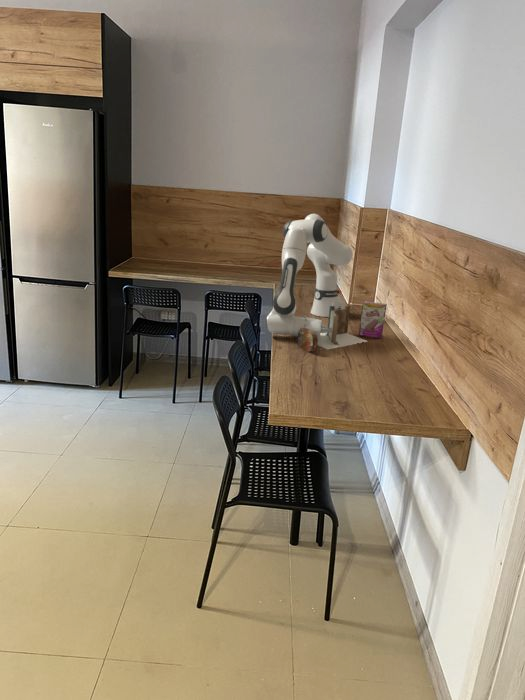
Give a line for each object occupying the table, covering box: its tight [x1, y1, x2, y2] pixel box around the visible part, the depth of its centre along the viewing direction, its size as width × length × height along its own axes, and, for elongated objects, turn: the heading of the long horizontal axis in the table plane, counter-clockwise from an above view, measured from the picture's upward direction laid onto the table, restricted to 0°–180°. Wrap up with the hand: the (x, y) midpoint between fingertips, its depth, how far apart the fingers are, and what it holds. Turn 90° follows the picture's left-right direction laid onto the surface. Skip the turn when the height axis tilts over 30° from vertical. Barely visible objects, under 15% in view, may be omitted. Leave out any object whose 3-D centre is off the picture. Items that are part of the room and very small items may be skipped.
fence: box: [327, 305, 351, 336], centre depth 254 cm, size 13×2×14 cm, turn 127°
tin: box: [297, 328, 318, 353], centre depth 231 cm, size 15×3×8 cm, turn 21°
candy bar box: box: [358, 300, 388, 339], centre depth 255 cm, size 11×5×16 cm, turn 74°
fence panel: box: [329, 310, 338, 343], centre depth 243 cm, size 14×2×12 cm, turn 0°
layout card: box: [317, 332, 368, 350], centre depth 248 cm, size 26×20×1 cm
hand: (331, 330), depth 242 cm, fingers closed
